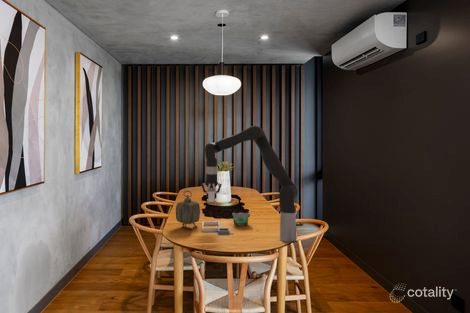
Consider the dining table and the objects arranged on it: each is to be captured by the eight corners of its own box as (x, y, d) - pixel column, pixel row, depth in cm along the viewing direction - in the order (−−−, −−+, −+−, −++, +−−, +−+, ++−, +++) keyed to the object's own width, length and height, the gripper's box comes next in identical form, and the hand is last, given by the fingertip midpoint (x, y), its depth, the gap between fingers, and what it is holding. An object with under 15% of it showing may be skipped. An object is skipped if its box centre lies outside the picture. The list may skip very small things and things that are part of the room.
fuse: (214, 203, 226) (214, 188, 225) (214, 204, 222) (214, 189, 221) (208, 203, 226) (208, 188, 225) (208, 204, 222) (208, 189, 221)
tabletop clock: (199, 228, 228) (200, 191, 226) (191, 231, 220) (191, 192, 219) (183, 224, 235) (183, 189, 234) (174, 227, 227) (174, 190, 226)
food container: (233, 228, 227) (233, 214, 226) (231, 226, 233) (232, 212, 232) (251, 228, 229) (251, 213, 229) (249, 225, 235) (249, 211, 235)
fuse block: (232, 232, 218) (232, 227, 218) (233, 236, 210) (233, 231, 210) (214, 232, 217) (214, 228, 217) (214, 236, 209) (214, 231, 209)
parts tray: (219, 225, 234) (219, 221, 234) (220, 232, 216) (220, 227, 216) (202, 225, 233) (202, 221, 233) (201, 233, 215) (201, 228, 215)
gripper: (222, 172, 227) (221, 198, 228) (200, 172, 226) (200, 197, 227) (222, 173, 220) (222, 200, 220) (200, 173, 218) (200, 199, 219)
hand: (211, 198), depth 224 cm, fingers closed on fuse, 4 cm apart
